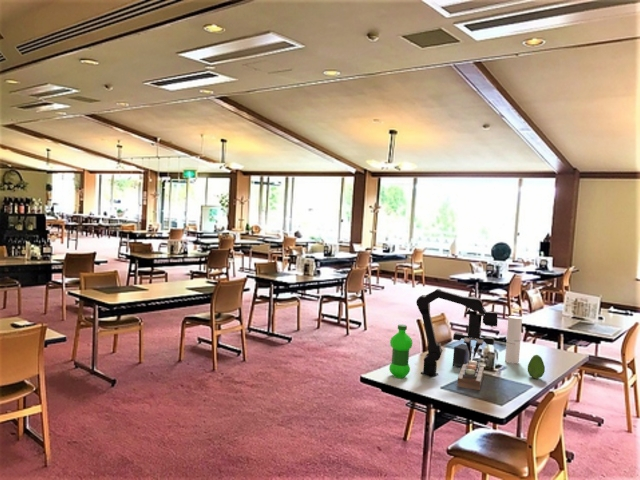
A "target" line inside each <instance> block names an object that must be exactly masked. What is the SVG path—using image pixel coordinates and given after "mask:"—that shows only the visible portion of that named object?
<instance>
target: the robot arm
mask: <svg viewBox="0 0 640 480" xmlns="http://www.w3.org/2000/svg"><path fill="white" fill-rule="evenodd" d="M437 299H441V300H445V301H448V302H451V303H455V304H458V305H462V306H464V307H466V308H467V309H468V310H467V311H465V315H468V324H467V325H466V326H465V333H467V335H466V334H464V333H463V332H459V331H458V332H457V331H455V332H454V333H453V335H452V336H453V337H452V339H453V340H455V341H458V342H459V341H461V340H463V343H464V344H465V345H467V347H468V350H469V353H470V356H471V357H472V354H471V346H472V341H474V342H475V341H476V342H475V347H474V352H473V357H475V356H476V353H477V352H478V349H479V348H480V346H483V344H485V345H491V346H494V345H495V337H494V336H489V335H486V336H485V337H482V336H481V333H482V331H481V329H482V324H484V326H487V327H488V326H489V327H495V328H496V327H498V322H499V321H498V319H499V318H498V312H497V311H487V310H486V308H485V307H484V306H483V301H482V299H481V298H480V297H475V296H463V295H460V294H457V293H452V292H449V291H445V290H442V289H440V288H437V289H435V290H434V291H431V292H430V293H427V294H426V295H425V294H422V295H419V297H418V298H417V299H416V306H417V308H418V311H419V312H420V314H421V317H422V321H423V325H424V331H425V334H426V338H427V354H425V356H424V358H423V369H422V370H423V371H420V374H422V375H425V376H427V377H430V378H431V377H434V376H439V373H437V369H438V368H437V366H438V365H437V364H438V361H439V360H440V359H441V357H442V353H443V349H442V343H441V342H439V343H438V341H437V338H436V334H435V329H434V325H433V322H432V321H433V320H432V317H431V303H432V302H433V301H435V300H437ZM484 342H485V343H484Z"/></svg>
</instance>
